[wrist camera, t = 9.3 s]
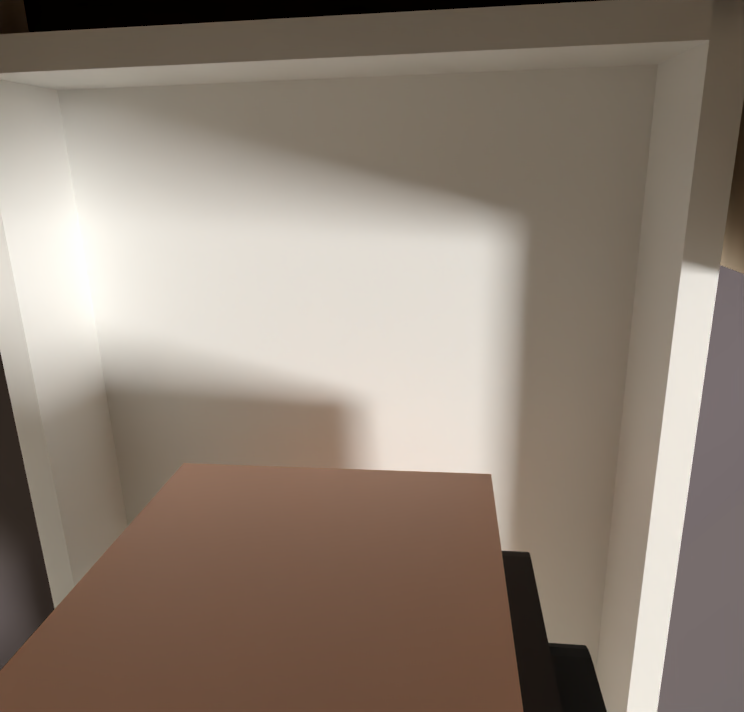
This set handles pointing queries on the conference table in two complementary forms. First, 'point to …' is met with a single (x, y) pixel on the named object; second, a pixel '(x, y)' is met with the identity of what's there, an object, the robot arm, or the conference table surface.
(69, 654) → the block
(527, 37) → the mint green drawer
